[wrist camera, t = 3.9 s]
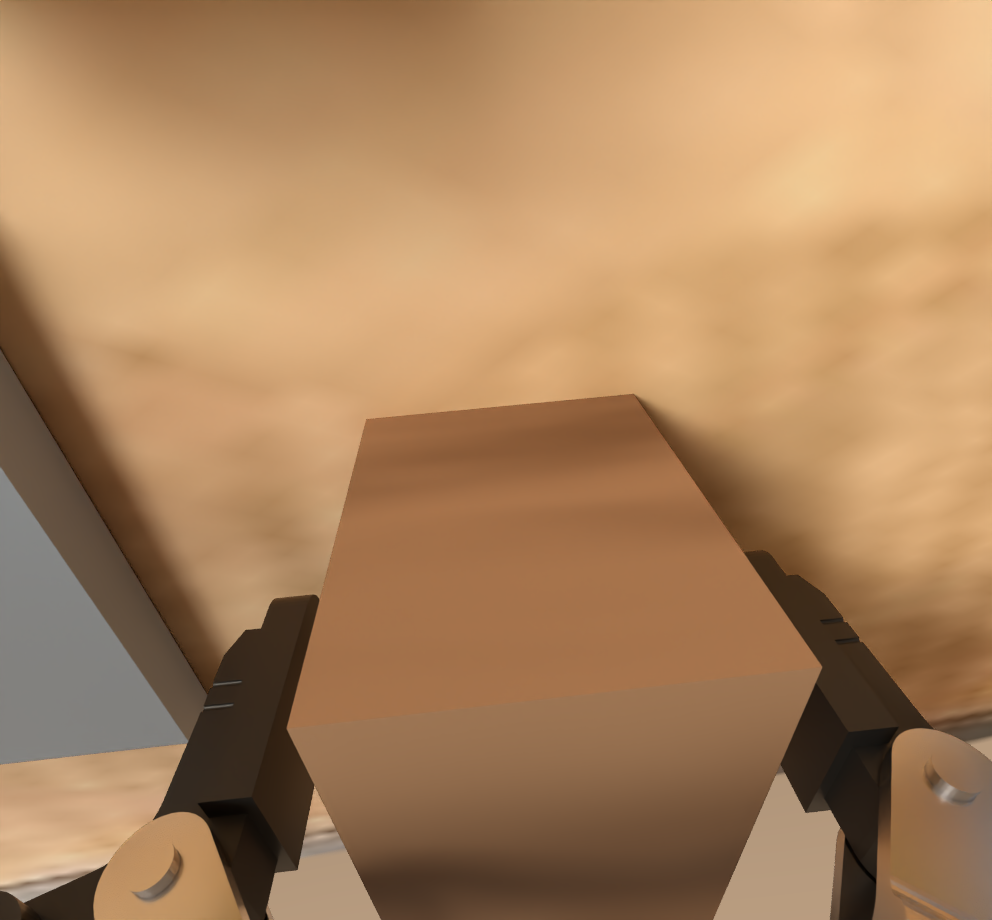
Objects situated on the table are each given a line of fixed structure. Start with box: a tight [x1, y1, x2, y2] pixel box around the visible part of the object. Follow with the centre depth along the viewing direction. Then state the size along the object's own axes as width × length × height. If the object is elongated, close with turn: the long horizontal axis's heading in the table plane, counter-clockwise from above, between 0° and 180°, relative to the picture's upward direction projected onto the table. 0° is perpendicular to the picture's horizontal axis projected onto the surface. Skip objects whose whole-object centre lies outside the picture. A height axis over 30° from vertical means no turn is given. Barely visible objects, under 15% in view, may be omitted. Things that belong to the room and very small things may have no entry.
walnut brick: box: [287, 394, 822, 920], centre depth 9 cm, size 7×5×6 cm
